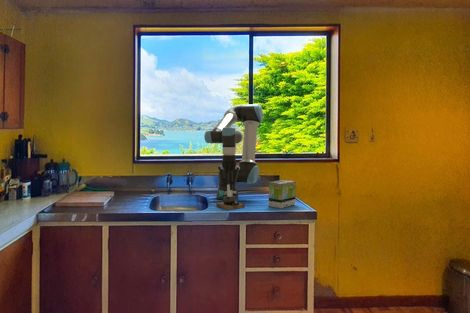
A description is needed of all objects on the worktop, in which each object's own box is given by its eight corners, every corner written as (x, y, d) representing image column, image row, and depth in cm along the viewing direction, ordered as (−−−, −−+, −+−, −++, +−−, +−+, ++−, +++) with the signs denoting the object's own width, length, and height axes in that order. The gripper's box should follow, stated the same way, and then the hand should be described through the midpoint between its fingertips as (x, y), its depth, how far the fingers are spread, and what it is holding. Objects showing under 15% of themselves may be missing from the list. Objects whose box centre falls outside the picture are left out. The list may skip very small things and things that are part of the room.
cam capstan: (228, 201, 212) (228, 187, 211) (237, 203, 207) (237, 188, 207) (215, 205, 202) (215, 190, 201) (224, 206, 198) (224, 191, 197)
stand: (232, 204, 216) (232, 197, 216) (244, 207, 206) (244, 200, 206) (216, 206, 209) (216, 199, 208) (228, 210, 199) (227, 202, 199)
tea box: (282, 209, 202) (282, 183, 201) (268, 206, 208) (268, 182, 207) (296, 204, 213) (296, 180, 212) (282, 202, 220) (282, 179, 219)
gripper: (242, 154, 199) (242, 195, 200) (220, 153, 203) (221, 194, 205) (237, 155, 191) (237, 197, 193) (215, 154, 196) (216, 196, 198)
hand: (229, 195), depth 199 cm, fingers closed
